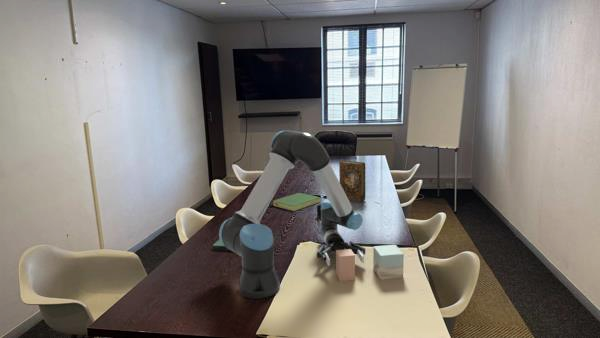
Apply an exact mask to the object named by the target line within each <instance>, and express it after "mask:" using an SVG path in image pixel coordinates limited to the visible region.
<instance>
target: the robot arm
mask: <svg viewBox="0 0 600 338" xmlns="http://www.w3.org/2000/svg"><path fill="white" fill-rule="evenodd" d="M269 158H270V159H269V162H268V163H267V164H266V166H265V168H264V169H263V171H262V173H261V175H260V176H259V178H258V180H257V182H256V183H255V185H254V187H253V189H252V190H251V192H250V193H249V195H248V197H247V199H246V201H245V203H243V205H242V208H241V209H240V210H238V211H235V212H234V213H233V215H232V217H230V218H228V219H226V220H224V221H223V222H222V223H221V225H220V226H219V227H220V228H219V231H218V236H219V238H218V239H220V241H221V243H222V244H223V245H224V246H225V247H226V248H227V249H229V250H231V251H230V252H233V253H235V254H236V255H238V256H240V257H241V266H242V267H241V270H242V271H241V273H240V274H241V275H240V280H239V281H238V291H239V294H240V295H241V296H243V297H245V298H247V299H248V298H249V299H252V300H253V299H266V298H269V297H271V296H274V295H275V294H277V293H278V292H279V291H280V288H281V287H280V286H281V284H280V278H279V277H278V273H277V271H276V268H275V257H274V256H275V255H274V251H275V250H274V236H273V235H274V234H273V231H272V229H271V228H270V227H269V226H267V225H265V224H261V220H262V218H263V216H264V214H265V212H266V211H267V209H268V207H269V205H270V203H271V201H273V198H274V197H275V195H276V193H277V191H278V189H279V188H280V185H281V184H282V182H283V181H284V179H285V177H286V176H287V174H288V172H289V170H293V169H294V168H295V167H296V165H297V163H298V162H301V163H302V164H304V165H305V166H306V167H307V168H308V171H309V172H311V173H312V174H313V175H314V176H315V179H316V181H317V182H318V184H319V186H320V187H321V190H322V192H323V193H324V194H325V196H326V198H327V199H324V200H322V201H321V202H320V204H321V218H320V227H319V234H320V236H321V238H322V239H323V241H324V242H325V243H320V247H319V248H318V250H317V251H316V259H320V258H321V260H322V261H324V262H326V264H327V267H330V266H331V258H330V257H329V255H331V254H334V253H336V250H345V249H351V250H352V252H353V253H354V255H356V256H357V257H358V259H359V261H360V262H361V263H362V264H364V263H365V255H366V247H363V246H361V245H359V244H357V243H355V242H353V241H351V240H350V241H349V242H348V243H347V242H345V241H344V238H343V237H342V235H341V234H340V232H339V231H338V225H339V226H340V227H344V228H346V229H349V230H353V231H357V230H359V229H360V228H361V227H362V225H363V221H364V219H363V215H362V214H361V213H359V212H357V211H355V210H354V208H353V206H352V204H351V201H349V200H348V198H347V196H346V194H345V192H344V190H343V188H342V186H341V184H340V180H339V179H338V177H337V175H336V173H335V170H334V169H333V167H332V164H331V163H330V162H331V158H330V156H329V153H328V152H327V150H326V148H325V147H324V146H323V144H322V143H321V142H320V141H319V140H318V138H317V137H315V136H314V135H313V134H311V133H309V132H304V131H293V130H281V131H278V132H276V133H275V134H274V135H273V137H272V139H271V141H270V151H269Z"/></svg>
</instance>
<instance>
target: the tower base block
mask: <svg viewBox="0 0 600 338" xmlns="http://www.w3.org/2000/svg"><path fill="white" fill-rule="evenodd" d="M372 259H373V263H372V264H373V265H372V268H373V269H372V270H373V271H374V270H375V271H374V272H375V273H376V275H377V277H378V278H379V280H391V279H399V278H400V279H401V278H402V279H403V278H404V265H403V266H400V267H387V268H380V267H379V265H378V264H377V262H376V261H375V260H374V258H372Z"/></svg>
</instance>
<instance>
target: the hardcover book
mask: <svg viewBox="0 0 600 338" xmlns="http://www.w3.org/2000/svg"><path fill="white" fill-rule="evenodd" d="M320 198H321V197H320V196H316V195H312V194H306V193H302V192H297V193H294V194H289V195H287V196H283V197H281V198H277V199H274V200H273V199H272V200H271V201H272V206H273V207H277V208H281V209H284V210H288V211H291V212H295V211H298V210H301V209H304V208H307V207H310V206H313V205H315V204H316V205H317V204H318V203H321V202H320V201H321V199H320Z"/></svg>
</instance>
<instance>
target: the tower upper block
mask: <svg viewBox="0 0 600 338" xmlns="http://www.w3.org/2000/svg"><path fill="white" fill-rule="evenodd" d="M372 253H373V254H372V257H373V258H374V260H375V261H376V262H377V264H378V265H379V267H380V268H387V267H400V266H403V267H404V256H405V255H404V253H403V251H401V250H400V248H399V247H398V245H396V244H388V245H386V244H385V245H375V246H374V245H373V251H372ZM373 258H372V259H373Z"/></svg>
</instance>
